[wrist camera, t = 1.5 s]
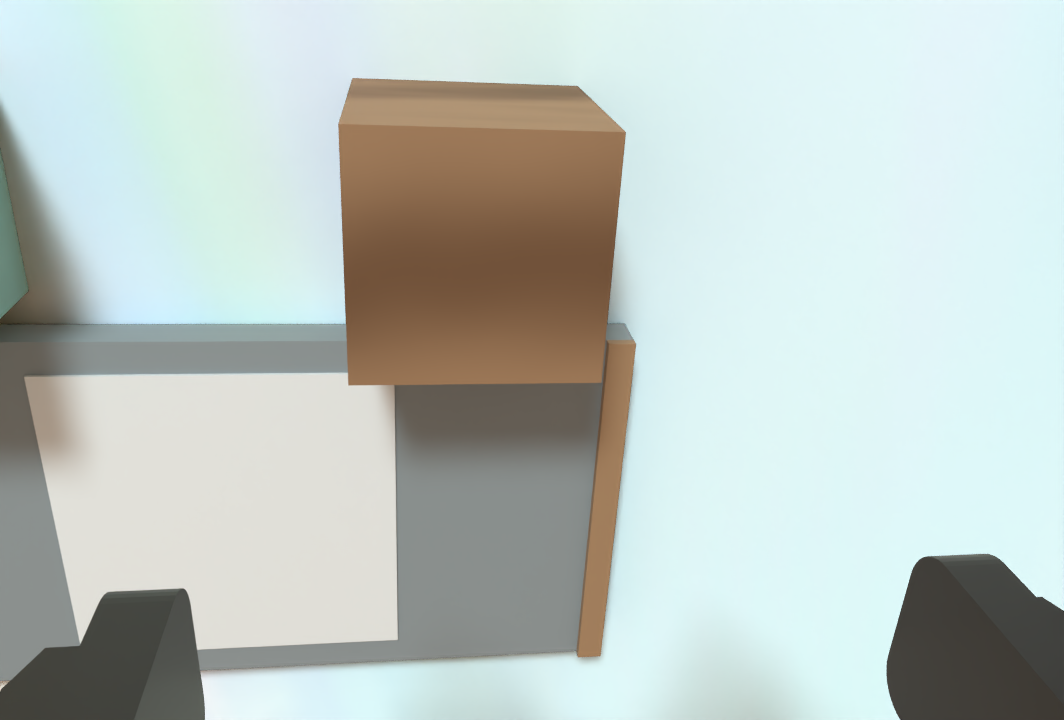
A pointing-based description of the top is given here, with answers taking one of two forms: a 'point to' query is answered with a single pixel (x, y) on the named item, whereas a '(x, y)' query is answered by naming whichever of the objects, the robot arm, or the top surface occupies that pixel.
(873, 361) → the top surface
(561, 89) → the walnut block
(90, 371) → the blueprint board
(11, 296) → the teal block
